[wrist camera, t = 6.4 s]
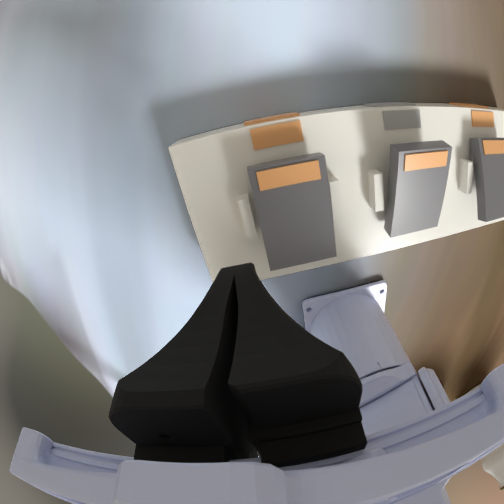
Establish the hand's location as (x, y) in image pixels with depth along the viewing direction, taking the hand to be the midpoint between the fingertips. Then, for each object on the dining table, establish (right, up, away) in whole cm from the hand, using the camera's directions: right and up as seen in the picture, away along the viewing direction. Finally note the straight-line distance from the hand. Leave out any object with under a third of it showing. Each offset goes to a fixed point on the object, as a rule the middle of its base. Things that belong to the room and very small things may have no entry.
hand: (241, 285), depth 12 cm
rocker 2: (+11, +5, +3) cm, 12 cm away
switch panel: (+10, +7, +7) cm, 15 cm away
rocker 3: (+18, +7, +3) cm, 20 cm away
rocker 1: (+3, +4, +4) cm, 6 cm away
